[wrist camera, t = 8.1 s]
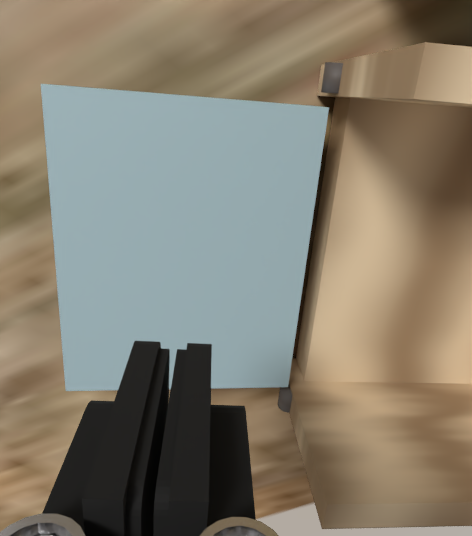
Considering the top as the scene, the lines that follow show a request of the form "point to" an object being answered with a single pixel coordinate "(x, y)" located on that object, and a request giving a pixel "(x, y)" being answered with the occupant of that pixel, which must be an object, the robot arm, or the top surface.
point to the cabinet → (390, 296)
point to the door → (179, 229)
